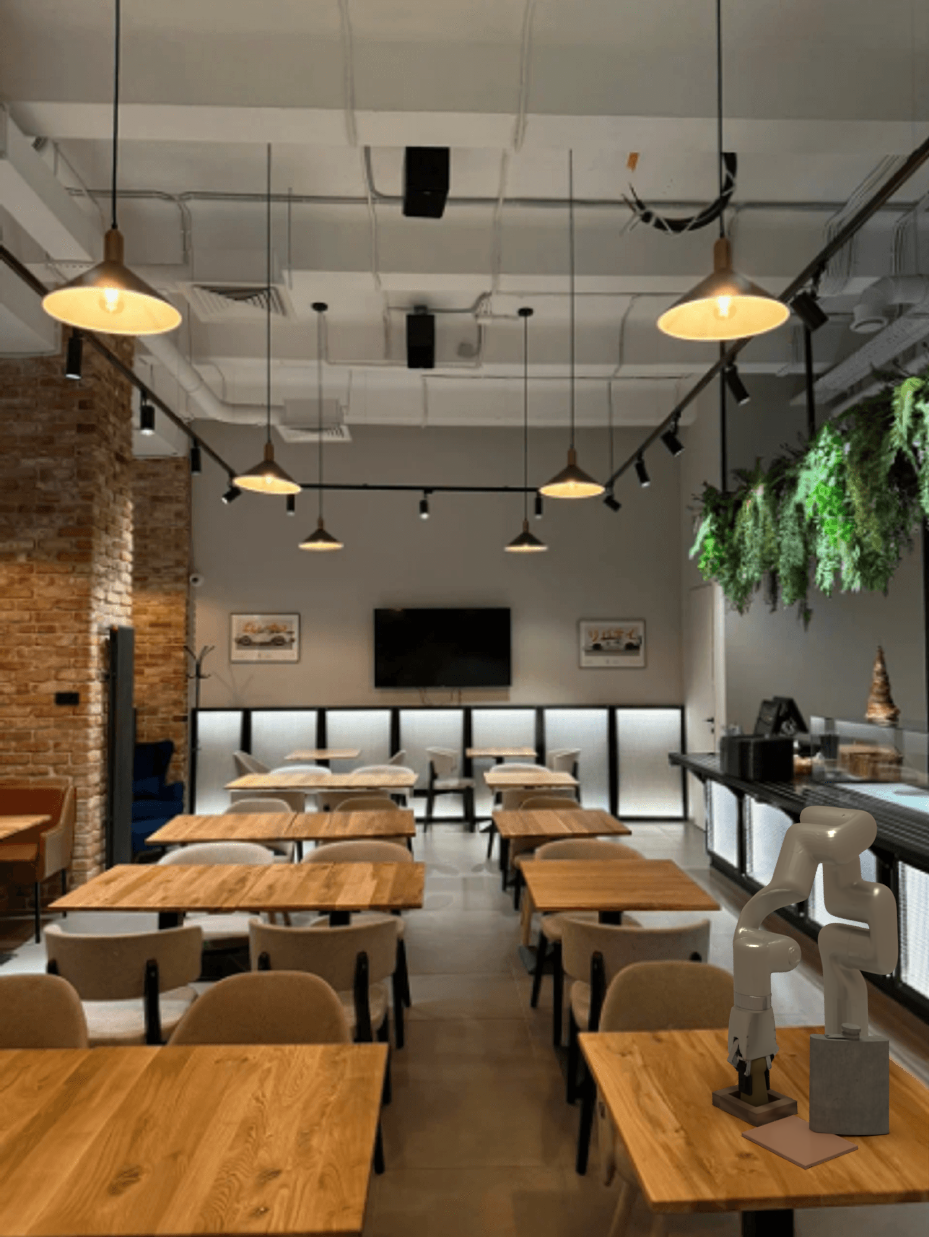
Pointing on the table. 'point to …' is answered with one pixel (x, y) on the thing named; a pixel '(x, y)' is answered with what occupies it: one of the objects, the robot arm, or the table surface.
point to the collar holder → (756, 1116)
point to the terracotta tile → (799, 1142)
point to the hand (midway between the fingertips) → (754, 1089)
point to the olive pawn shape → (757, 1083)
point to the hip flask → (849, 1083)
